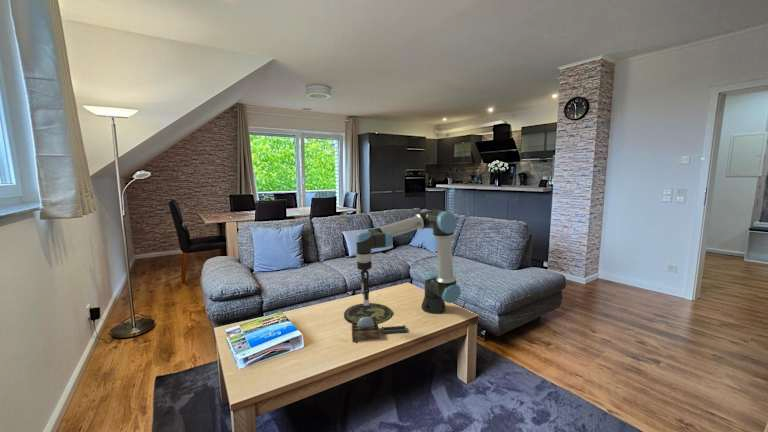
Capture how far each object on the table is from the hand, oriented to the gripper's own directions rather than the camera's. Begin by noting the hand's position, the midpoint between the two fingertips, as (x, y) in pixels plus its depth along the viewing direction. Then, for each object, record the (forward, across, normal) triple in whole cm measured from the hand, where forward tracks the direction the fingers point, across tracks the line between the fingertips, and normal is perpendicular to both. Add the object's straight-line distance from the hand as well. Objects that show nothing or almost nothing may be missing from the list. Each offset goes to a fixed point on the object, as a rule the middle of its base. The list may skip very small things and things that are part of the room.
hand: (365, 299), depth 171 cm
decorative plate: (+20, -25, +3) cm, 32 cm away
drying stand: (+20, -1, +15) cm, 25 cm away
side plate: (+19, 0, -1) cm, 19 cm away
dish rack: (+20, 0, -1) cm, 20 cm away
